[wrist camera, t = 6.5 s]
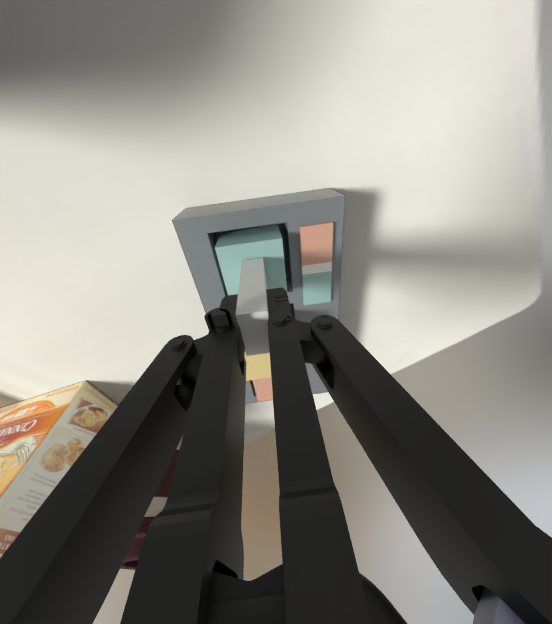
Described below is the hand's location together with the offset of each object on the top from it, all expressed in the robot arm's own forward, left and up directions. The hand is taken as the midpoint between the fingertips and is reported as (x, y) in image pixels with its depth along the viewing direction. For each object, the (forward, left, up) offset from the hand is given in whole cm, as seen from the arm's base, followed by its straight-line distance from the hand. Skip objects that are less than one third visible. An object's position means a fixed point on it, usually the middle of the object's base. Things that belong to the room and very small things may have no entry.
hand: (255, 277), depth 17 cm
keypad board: (+7, +1, -6) cm, 9 cm away
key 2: (0, 0, -4) cm, 4 cm away
